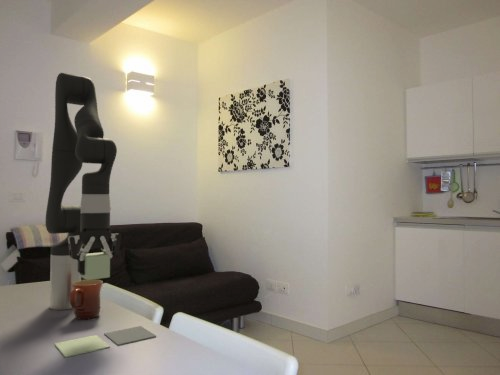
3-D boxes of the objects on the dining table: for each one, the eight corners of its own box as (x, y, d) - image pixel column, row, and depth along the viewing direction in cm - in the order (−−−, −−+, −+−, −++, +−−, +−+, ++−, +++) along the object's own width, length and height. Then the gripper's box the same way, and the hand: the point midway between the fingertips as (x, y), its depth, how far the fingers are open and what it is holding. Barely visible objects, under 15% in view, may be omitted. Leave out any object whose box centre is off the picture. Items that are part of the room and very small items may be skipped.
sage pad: (54, 344, 99) (54, 343, 99) (96, 336, 105) (96, 334, 105) (65, 357, 91) (65, 356, 91) (109, 347, 97) (109, 346, 97)
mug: (82, 311, 127) (83, 278, 128) (108, 313, 126) (108, 280, 126) (57, 323, 116) (57, 287, 116) (85, 325, 114) (85, 288, 114)
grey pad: (104, 334, 106) (104, 333, 106) (140, 327, 113) (140, 325, 113) (118, 345, 99) (118, 344, 99) (156, 336, 105) (156, 335, 105)
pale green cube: (80, 276, 111) (80, 254, 111) (102, 273, 114) (102, 252, 114) (86, 280, 106) (87, 256, 106) (109, 277, 110) (110, 254, 110)
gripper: (116, 210, 118) (116, 268, 117) (63, 211, 109) (62, 274, 109) (126, 211, 112) (125, 272, 112) (71, 212, 103) (70, 278, 103)
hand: (94, 272), depth 110 cm, fingers closed on pale green cube, 6 cm apart
